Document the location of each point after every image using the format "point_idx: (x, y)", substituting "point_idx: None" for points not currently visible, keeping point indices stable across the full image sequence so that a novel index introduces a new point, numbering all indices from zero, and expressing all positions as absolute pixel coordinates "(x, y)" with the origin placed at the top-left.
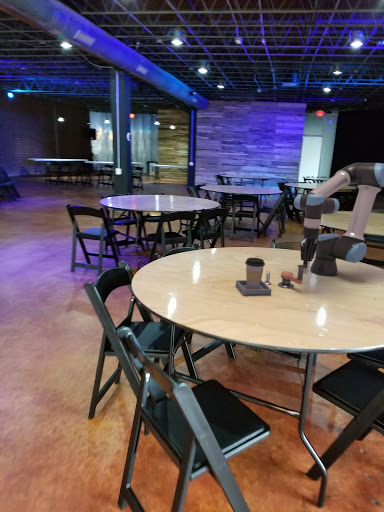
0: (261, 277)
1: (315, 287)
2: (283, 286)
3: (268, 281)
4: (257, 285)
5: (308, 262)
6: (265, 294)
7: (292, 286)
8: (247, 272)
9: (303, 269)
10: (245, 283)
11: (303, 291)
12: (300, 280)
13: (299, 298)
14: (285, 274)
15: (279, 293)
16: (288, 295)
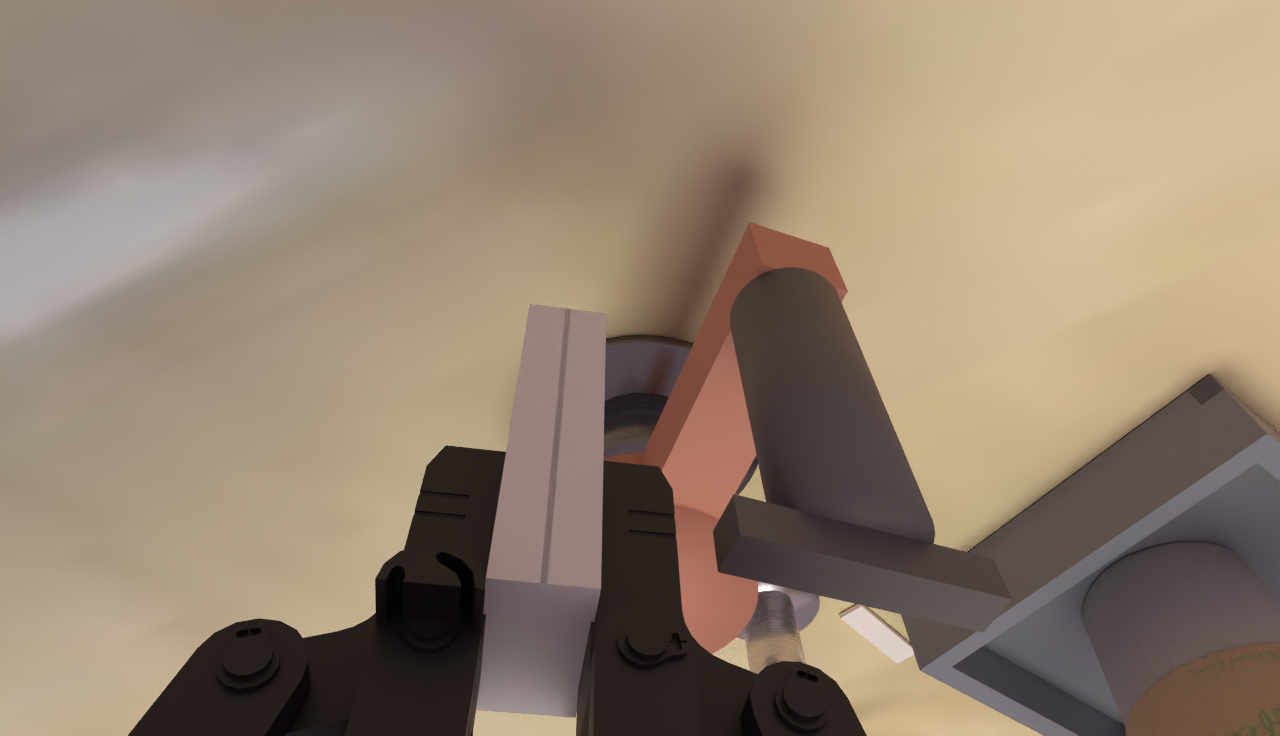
0: (1274, 694)
1: (252, 84)
2: None
3: (786, 614)
4: (1265, 601)
5: (590, 568)
6: (1268, 425)
7: (634, 354)
8: None
9: (846, 435)
10: (1069, 706)
11: (665, 137)
12: (823, 282)
13: (1084, 12)
14: (748, 585)
15: (1045, 340)
16: (1049, 214)
